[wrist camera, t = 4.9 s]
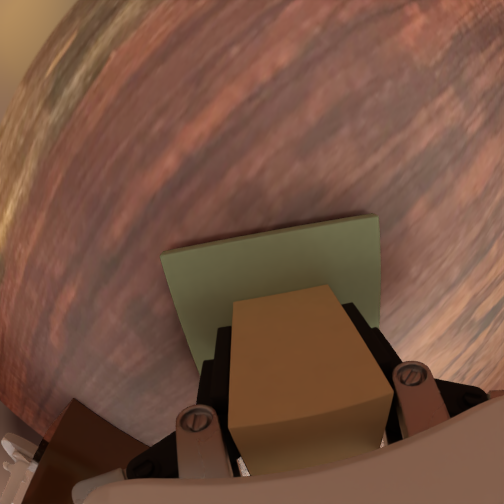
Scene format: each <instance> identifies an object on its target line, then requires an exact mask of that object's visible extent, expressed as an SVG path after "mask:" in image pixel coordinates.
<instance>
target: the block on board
mask: <svg viewBox="0 0 504 504" xmlns="http://www.w3.org/2000/svg"><path fill="white" fill-rule="evenodd" d="M160 259H161V263H162V266H163V270H164V273H165V276H166V280H167V283H168V286H169V289H170V293H171V296H172V299H173V302H174V305H175V308H176V311H177V314H178V317H179V320H180V323H181V326H182V329H183V331H184V334H185V337H186V340H187V343H188V345H189V348H190V351H191V353H192V356H193V359H194V361H195V364H196V367H197V369H198V372H199V374H200V376H201V370H202V364H203V361H204V360H210V359H214V353H215V345H216V337H217V329H218V328H219V327H226V326H232V337H231V359H230V383H229V409H228V429H229V431H230V433H231V435H232V438H233V440H234V442H235V444H236V447H237V449H238V451H239V453H240V455H241V457H242V459H243V461H244V464H245V466H246V468H247V470H248V472H249V474H250V476H256V475H265V474H272V473H279V472H286V471H292V470H298V469H303V468H308V467H313V466H318V465H322V464H327V463H331V462H335V461H339V460H343V459H346V458H350V457H353V456H357V455H360V454H363V453H367V452H370V451H373V450H376V449H379V448H380V445H381V442H382V438H383V435H384V431H385V427H386V423H387V420H388V416H389V411H390V407H391V403H392V398H393V394H394V391H393V389H392V387H391V386H390V384H389V382H388V381H387V379H386V377H385V375H384V374H383V372H382V370H381V369H380V367H379V365H378V364H377V362H376V360H375V359H374V357H373V355H372V354H371V352H370V350H369V349H368V347H367V345H366V344H365V342H364V340H363V339H362V337H361V336H360V334H359V332H358V331H357V329H356V328H355V326H354V324H353V323H352V321H351V320H350V318H349V316H348V315H347V313H346V312H345V310H344V309H343V307H342V305H341V304H346V303H350V302H353V303H354V305H355V306H356V307H357V309H358V310H359V312H360V313H361V314H362V316H363V317H364V319H365V320H366V321H367V323H368V324H369V326H370V327H371V328H373V327H377V328H378V329H379V321H380V293H381V259H380V230H379V217H378V215H375V214H373V213H371V214H365V215H359V216H353V217H347V218H341V219H335V220H330V221H324V222H318V223H312V224H306V225H301V226H295V227H289V228H284V229H278V230H273V231H267V232H262V233H256V234H251V235H245V236H240V237H235V238H229V239H224V240H219V241H213V242H208V243H203V244H198V245H193V246H188V247H182V248H177V249H172V250H167V251H163V252H162V253H161V255H160Z"/></svg>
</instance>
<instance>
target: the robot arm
mask: <svg viewBox="0 0 504 504" xmlns="http://www.w3.org/2000/svg"><path fill="white" fill-rule="evenodd" d="M341 305H342V307H343V309H344V310H345V312H346V313H347V315H348V316H349V318H350V320H351V321H352V323H353V324H354V326H355V328H356V329H357V331H358V332H359V334H360V336H361V337H362V339H363V340H364V342H365V344H366V345H367V347H368V349H369V350H370V352H371V354H372V355H373V357H374V359H375V360H376V362H377V364H378V365H379V367H380V369H381V370H382V372H383V374H384V375H385V377H386V379H387V381H388V382H389V384H390V386H391V387H392V389H393V391H394V394H393V398H392V403H391V407H390V411H389V416H388V420H387V423H386V427H385V431H384V435H383V441H384V447H382V448H379V449H376V450H373V451H370V452H367V453H363V454H360V455H357V456H353V457H350V458H346V459H343V460H339V461H335V462H331V463H327V464H322V465H318V466H313V467H308V468H303V469H298V470H292V471H286V472H279V473H272V474H265V475H256V476H245V477H243V476H242V472H241V468H240V464H239V461H238V458H239V457H241V455H240V453H239V451H238V449H237V447H236V444H235V442H234V440H233V438H232V435H231V433H230V431H229V429H228V409H229V383H230V359H231V337H232V326H226V327H219V328H218V329H217V337H216V345H215V353H214V359H210V360H204V361H203V364H202V370H201V376H200V382H199V389H198V395H197V401H196V405H192V406H189V407H187V408H185V409H184V410H182V411H181V412H180V413H179V415H178V416H177V418H176V431H174V432H173V433H171V434H170V435H168V436H167V437H165V438H164V439H162V440H161V441H159V442H158V443H156V444H155V445H153V446H152V447H150V448H149V449H147V450H146V451H144V452H143V453H141V454H139V455H138V456H136V457H135V458H133V459H132V460H131V461H130V462H129V464H128V465H127V468H126V469H124V470H122V469H121V468H118V469H115V470H113V471H110V472H107V473H104V474H101V475H98V476H95V477H92V478H89V479H86V480H83V481H80V482H78V483H77V484H76V485H75V486H74V487H73V490H72V499H73V503H74V504H504V390H492V391H489V392H488V394H486V393H485V392H484V391H483V390H482V389H480V388H478V387H475V386H470V385H464V384H459V383H454V382H449V381H444V380H439V379H434V378H433V375H432V373H431V371H430V369H429V368H428V366H426V365H425V364H423V363H421V362H418V361H406V362H402V361H401V359H400V358H399V356H398V355H397V354H396V352H395V351H394V349H393V348H392V347H391V345H390V344H389V342H388V341H387V340H386V338H385V337H384V335H383V334H382V333H381V331H380V330H379V329H378V328H377V327H373V328H371V327H370V326H369V324H368V323H367V321H366V320H365V319H364V317H363V316H362V314H361V313H360V312H359V310H358V309H357V307H356V306H355V305H354V303H353V302H350V303H346V304H341ZM12 458H13V459H14V461H15V463H14V464H13V465H12V464H10V463H8V462H6V461H5V462H4V463H3V467H4V468H5V469H6V470H8V471H10V474H11V476H10V478H9V480H8V482H7V484H6V487H5V489H4V491H3V493H2V495H1V498H0V504H12V502H13V499H14V497H15V495H16V492H17V490H18V488H19V486H20V484H21V481H22V479H23V477H24V475H25V473H26V471H27V469H28V467H29V465H30V463H31V461H32V458H30V457H28V456H26V455H24V454H22V453H20V452H17V451H14V452H13V453H12Z"/></svg>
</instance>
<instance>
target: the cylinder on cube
mask: <svg viewBox="0 0 504 504" xmlns="http://www.w3.org/2000/svg"><path fill="white" fill-rule="evenodd" d="M149 448H150V447H148V446H147V445H145V444H143V443H141V442H139V441H138V440H136V439H134V438H132V437H131V436H129V435H127V434H126V433H124V432H122V431H121V430H119V429H118V428H116V427H114V426H113V425H111V424H110V423H108V422H107V421H105V420H104V419H102V418H101V417H99V416H98V415H96V414H95V413H93V412H92V411H91V410H89V409H88V408H86V407H85V406H84V405H82V404H81V403H80V402H78V401H77V400H76V399H74V398H73V399H72V400H71V402H70V403H69V404H68V405H67V406H66V408H65V409H64V410H63V411H62V412H61V414H60V415H59V416H58V417H57V418H56V420H55V421H54V422H53V423H52V425H51V426H50V427H49V428H48V430H47V432H46V434H45V435H44V437H43V439H42V441H41V443H40V445H39V447H38V449H37V451H36V453H35V455H34V457H33V459H32V461H31V463H30V465H29V467H28V469H27V471H26V473H25V475H24V477H23V479H22V481H21V484H20V486H19V488H18V490H17V492H16V495H15V497H14V499H13V502H12V504H74V503H73V499H72V490H73V487H74V486H75V485H76V484H77V483H78V482H80V481H83V480H86V479H89V478H92V477H95V476H98V475H101V474H104V473H107V472H110V471H113V470H115V469H118V468H121V469H122V470H124V469H126V468H127V465H128V464H129V462H130V461H131V460H132V459H133V458H135V457H136V456H138V455H139V454H141V453H143V452H144V451H146V450H147V449H149Z"/></svg>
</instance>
